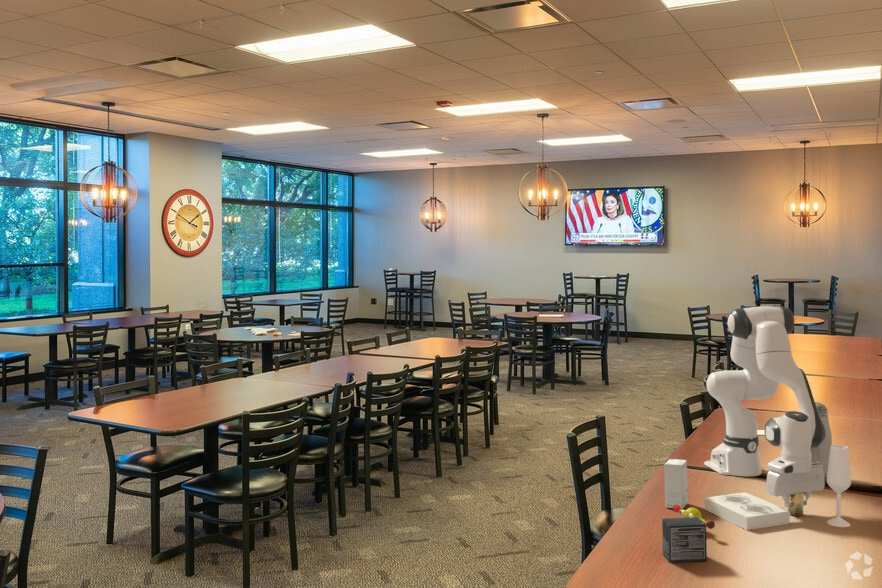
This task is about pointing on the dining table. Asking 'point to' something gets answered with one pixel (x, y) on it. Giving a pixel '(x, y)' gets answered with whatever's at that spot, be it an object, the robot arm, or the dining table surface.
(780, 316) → the robot arm
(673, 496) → the skincare box
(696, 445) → the dining table surface
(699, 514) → the toy figure
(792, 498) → the bushing
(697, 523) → the small box
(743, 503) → the jig
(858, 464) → the dining table surface
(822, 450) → the grey bottle
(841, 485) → the champagne flute
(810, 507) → the dining table surface
